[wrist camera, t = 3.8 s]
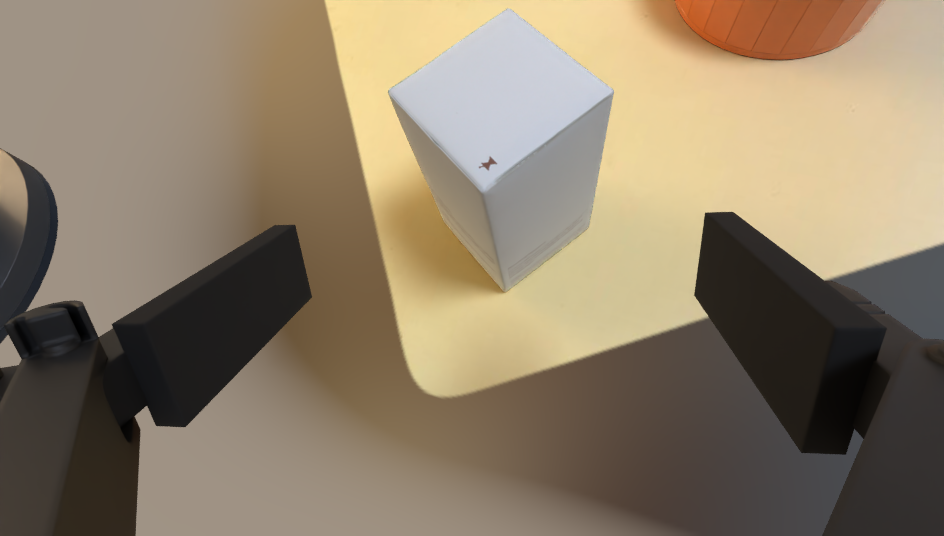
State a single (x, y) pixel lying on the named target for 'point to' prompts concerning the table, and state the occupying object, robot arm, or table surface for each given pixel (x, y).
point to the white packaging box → (507, 143)
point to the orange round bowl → (778, 24)
